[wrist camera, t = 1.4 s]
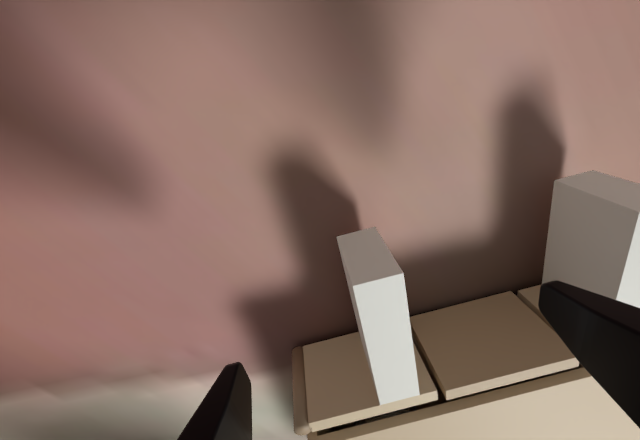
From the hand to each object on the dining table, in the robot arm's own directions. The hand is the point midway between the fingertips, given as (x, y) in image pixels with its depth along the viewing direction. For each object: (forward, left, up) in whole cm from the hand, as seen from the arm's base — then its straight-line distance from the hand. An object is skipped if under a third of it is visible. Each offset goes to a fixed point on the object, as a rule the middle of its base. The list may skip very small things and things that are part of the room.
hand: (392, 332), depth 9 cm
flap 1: (-1, -2, -5) cm, 5 cm away
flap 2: (+10, -2, -5) cm, 12 cm away
